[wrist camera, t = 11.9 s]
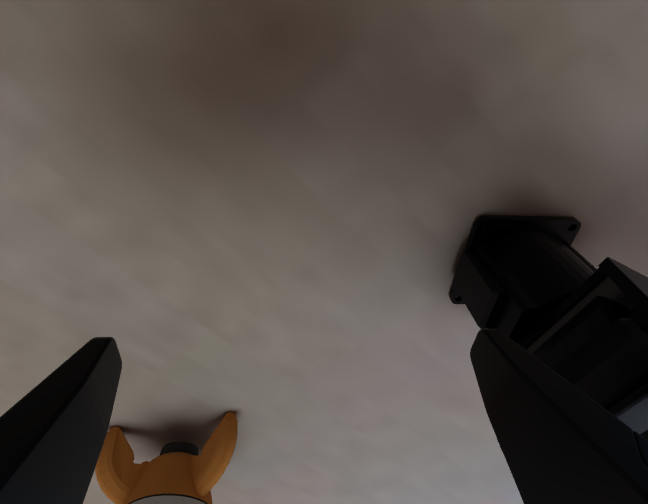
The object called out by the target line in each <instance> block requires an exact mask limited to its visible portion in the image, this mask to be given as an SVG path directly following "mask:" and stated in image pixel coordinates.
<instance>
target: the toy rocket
mask: <svg viewBox="0 0 648 504" xmlns="http://www.w3.org/2000/svg"><path fill="white" fill-rule="evenodd" d="M236 439H237V418H236V415H235V413H234V412H229V413H226V415H225V416H224V418H223V419H222V421H221V422H220V424H219V425H218V427H217V428H216V429H215V431H214V432H213V434H212V435H211V436H210V438H209V439H208V440H207V442H206V444H205V446H204V448H203V451H202V454H201V455H199V456H198V448H197V447H196V446H195V445H193V444H191V443H188V442H181V441H178V442H171V443H168V444H166V445H165V446H164V447H163V448H162V450H161V453H160V456H158V457H156V458H155V459H153V460H152V461H150V462H147V461H145V462H143V463H141V464H134V463H133V460H134V454H133V451H132V449H131V447H130V445H129V444H128V442H127V440H126V438H125V436H124V434H123V433H122V431H121V429H120V428H119V427H112V428H111V429H110V430H109V432H108V433H107V435H106V438H105V441H104V444H103V447H102V450H101V453H100V455H99V458H98V461H97V464H96V467H95V471H96V477H97V481H98V483H99V485H100V487H101V490H102V491H103V492H104V493H105V495H106V496H107V497H108V498H109V499H110V500H111V501H113V502H114V503H115V504H212V497H211V491H210V490H211V488H212V487H213V486H214V485H215V484H216V483H217V481H218V480H219V479H220V477H221V476H222V474H223V473H224V471H225V469H226V467H227V466H228V464H229V461H230V459H231V457H232V454H233V451H234V448H235V445H236Z"/></svg>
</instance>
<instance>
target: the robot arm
mask: <svg viewBox="0 0 648 504" xmlns="http://www.w3.org/2000/svg"><path fill="white" fill-rule="evenodd" d="M484 223H486V225H484V226H482V224H484ZM570 225H571V226H570ZM481 226H482V227H481ZM569 226H570V227H569ZM580 226H581V223H580V222H579V221H578V220H577V219H576V218H574V217H546V216H496V215H484V216H480V217H479V218H477V219H476V221H475V222H474V225H473V228H472V231H471V234H470V237H469V240H468V242H467V245H466V248H465V250H464V251H463V253H462V255H461V258H460V261H459V264H458V267H457V270H456V273H455V276H454V279H453V285H452V288H451V291H450V294H449V298H450V299H451V301H452V303H454V304H465V305H466V306H467V308H468V310H469V311H470V313H471V315H472V316H473V318H474V320H475V322H476V323H477V325H478V326H479V327H480V328H481V330H480V331H479V332H478V334H477V336H476V338H475V341H474V343H473V345H472V348H471V351H470V357H471V361H472V365H473V368H474V371H475V375H476V378H477V382H478V385H479V388H480V392H481V395H482V399H483V402H484V405H485V408H486V411H487V414H488V417H489V419H490V422H491V424H492V427H493V429H494V432H495V434H496V437H497V439H498V442H499V444H500V447H501V450H502V451H503V454H504V456H505V458H506V461H507V463H508V466H509V468H510V471H511V473H512V475H513V478H514V480H515V483H516V485H517V488H518V490H519V492H520V495H521V497H522V500H523V502H524V504H648V277H646V276H644V275H642V274H640V273H638V272H636V271H634V270H632V269H630V268H628V267H627V266H625V265H623V264H621V263H619V262H617V261H615V260H613V259H611V258H609V257H607V258H606V259H605V260H604V261H603V262H602V263H601V264H600V265H598V266H599V268H598V269H596V268H595V267H594V266H593V265H591V264H590V263H589V262H588V261H587V260H586V259H585V258H584V257H583V256H581V255H580V254H579V253H578V252H577V251H576V250H575V249H574V248H573V247H571V244H572V242H573V240H574V238H575V236H576V234H577V233H578V231H579V229H580ZM457 296H458V297H457ZM121 369H122V361H121V357H120V354H119V351H118V348H117V345H116V342H115V339H114V338H112V337H96V338H93V339H91V340H90V341H89V342H87V343H86V344H85V345H84V346H83V347H82V348H80V349H79V350H78V351H77V352H76V353H75V354H73V355H72V356H71V357H70V358H69V359H68V360H66V361H65V362H64V363H63V364H62V365H61V366H59V367H58V368H57V369H56V370H55V371H54V372H52V373H51V374H50V375H49V376H48V377H47V378H45V379H44V380H43V381H42V382H41V383H40V384H38V385H37V386H36V387H35V388H34V389H33V390H31V391H30V392H29V393H28V394H27V395H26V396H24V397H23V398H22V399H21V400H20V401H18V402H17V403H16V404H15V405H14V406H13V407H11V408H10V409H9V410H8V411H7V412H6V413H4V414H3V415H2V416H1V417H0V504H83V501H84V498H85V496H86V493H87V490H88V487H89V484H90V481H91V478H92V475H93V473H94V470H95V467H96V464H97V461H98V458H99V455H100V453H101V450H102V447H103V444H104V441H105V438H106V435H107V431H108V427H109V423H110V418H111V414H112V410H113V405H114V401H115V396H116V392H117V387H118V383H119V379H120V374H121Z"/></svg>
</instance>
